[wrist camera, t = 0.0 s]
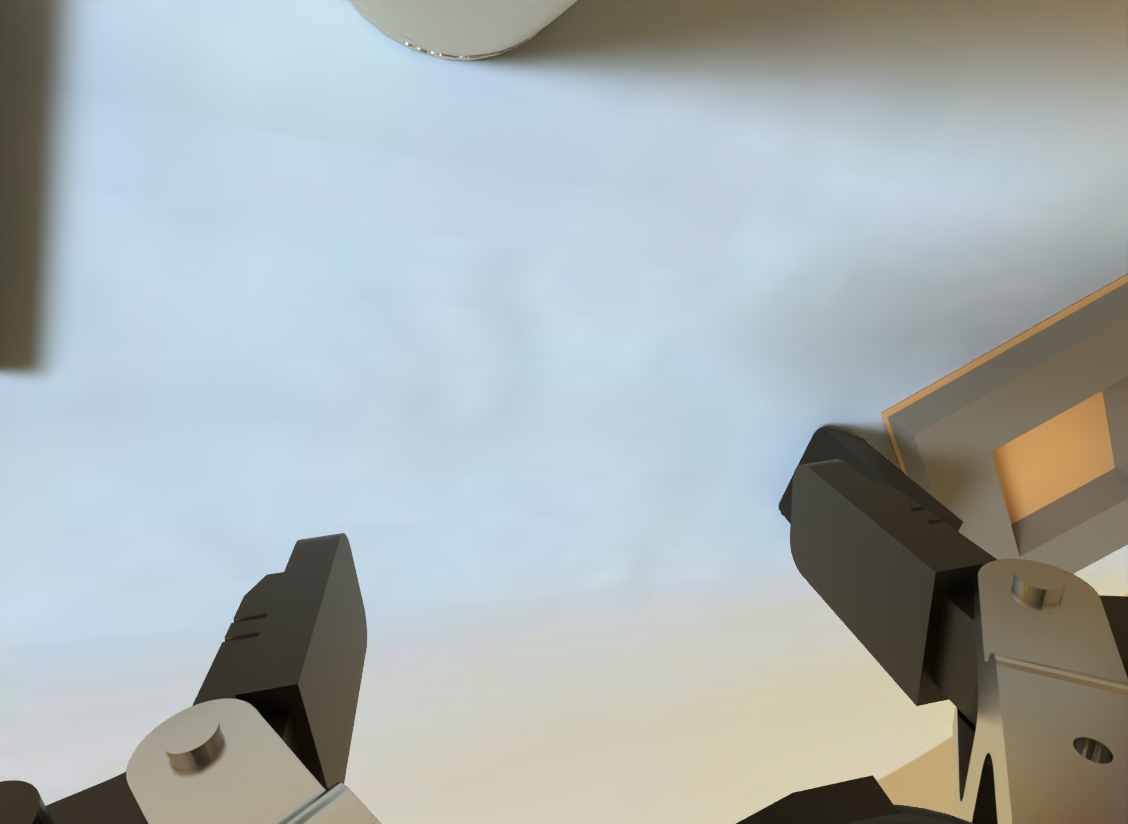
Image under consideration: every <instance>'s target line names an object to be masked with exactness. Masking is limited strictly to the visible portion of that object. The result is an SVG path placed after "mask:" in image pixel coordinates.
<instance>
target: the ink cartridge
mask: <svg viewBox="0 0 1128 824" xmlns="http://www.w3.org/2000/svg"><path fill="white" fill-rule="evenodd" d="M835 459H841V460H843V461H845V462H846V463H848V464H849V465H850V466H852V467H853V468H854V469H856V470H857V471H858V472H860V473H861V474H863V475H864V476H865V477H867V478H868V479H869V480H871V481H876V482H878V483H881V484H883V485H886V486H888V487H891V488H893V489H896V490H899V491H901V492H903V493H904V494H906V495H907V496H909V497H910V498H911V499H913V500H914V501H916V502H917V503H918V504H920V505H921V506H923V510H928V511H930V512H931V513H933V514H934V515H935V516H937V517H938V518H940V521H941V523H943V522H945V523H947V524H948V525H949V526H951V527H952V528H954V529H955V530H957V531H959V529H960V528H961V526H962V524H963V521H962V520H961V519H960V518H958V517H957V516H956V515H955V514H953V513H952V512H951V511H950V510H949V509H947V508H946V507H945V506H944V505H942V504H941V503H940V502H939V501H938V500H936V499H935V498H934V497H933V496H931V495H930V494H929V493H928V492H926V491H925V490H924V489H923V488H922V487H920V486H919V485H918V484H917V483H915V482H914V481H913V480H912V479H911V478H909V477H908V476H907V475H906V474H904V473H903V472H902V471H901V470H899V469H898V468H897V467H896V466H895V465H893V464H892V463H891V462H890V461H888V460H887V459H886V458H885V457H884V456H882V455H881V454H880V453H879V452H877V451H876V450H875V449H874V448H872V447H871V446H870V445H869V444H868V443H866V441H865V440H864V439H863V438H860V437H857V436H853V435H850V434H846V433H842V432H838V431H834V430H830V429H826V428H820V429H818V430H817V431H816V432H815V433H814V435H813V436H812V438H811V440H810V442H809V444H808V446H807V448H806V450H805V452H804V454H803V456H802V458H801V460H800V462H799V464H798V466H799V465H802V464H809V463H816V462H822V461H829V460H835ZM798 466H797V467H798ZM793 475H794V474H793ZM792 488H793V476H792V478H791V480H790V483H789V485H788V487H787V489H786V491H785V493H784V495H783V497H782V499H781V501H780V503H779V510H780V511H781V514H782V515H783V516H785V518H786V519H787V520H788V521H789V523H790V524H791V509H792Z"/></svg>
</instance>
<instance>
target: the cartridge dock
mask: <svg viewBox="0 0 1128 824" xmlns="http://www.w3.org/2000/svg"><path fill="white" fill-rule="evenodd" d="M881 414H882V417H883V420H884V422H885V425H886V428H887V431H888V434H889V436H890V439H891V442H892V445H893V448H894V451H895V453H896V456H897V459H898V462H899V465H900V468H901V470H902V472H903V473H904V474H906V475H907V476H908V477H909V478H911V479H912V480H913V481H914V482H915V483H917V484H918V485H919V486H920V487H922V488H923V489H924V490H925V491H926V492H928V493H929V494H930V495H931V496H933V497H934V498H935V499H936V500H938V501H939V502H940V503H941V504H942V505H944V506H945V507H946V508H947V509H949V510H950V511H951V512H952V513H953V514H955V515H956V516H957V517H958V518H960V519H961V520H962V521H963V524H962V526H961V528H960V529H959V531H958V532H959V533H961V534H962V535H964V536H965V537H966V538H968V539H969V540H971V541H972V542H973V543H975V544H976V545H978V546H979V547H981V548H982V549H983V550H985V551H986V552H988V553H989V554H990V555H992V556H993V557H995V558H996V559H997V560H1001V559H1024V560H1031V561H1036V562H1041V563H1045V564H1048V565H1052V566H1055V567H1058V568H1060V569H1063V570H1065V571H1067V572H1070V573H1072V574H1073V573H1075V572H1077V571H1079V570H1081V569H1083V568H1085V567H1086V566H1088V565H1090V564H1092V563H1094V562H1096V561H1098V560H1099V559H1101V558H1103V557H1105V556H1107V555H1109V554H1111V553H1113V552H1114V551H1116V550H1118V549H1120V548H1122V547H1124V546H1126V545H1127V544H1128V274H1127V275H1125V276H1123V277H1122V278H1120V279H1118V280H1116V281H1115V282H1113V283H1111V284H1109V285H1107V286H1106V287H1104V288H1102V289H1100V290H1099V291H1097V292H1095V293H1093V294H1091V295H1090V296H1088V297H1086V298H1084V299H1083V300H1081V301H1079V302H1077V303H1076V304H1074V305H1072V306H1070V307H1068V308H1067V309H1065V310H1063V311H1061V312H1060V313H1058V314H1056V315H1054V316H1053V317H1051V318H1049V319H1047V320H1045V321H1044V322H1042V323H1040V324H1038V325H1037V326H1035V327H1033V328H1031V329H1029V330H1028V331H1026V332H1024V333H1022V334H1021V335H1019V336H1017V337H1015V338H1014V339H1012V340H1010V341H1008V342H1006V343H1005V344H1003V345H1001V346H999V347H998V348H996V349H994V350H992V351H990V352H989V353H987V354H985V355H983V356H982V357H980V358H978V359H976V360H975V361H973V362H971V363H969V364H967V365H966V366H964V367H962V368H960V369H959V370H957V371H955V372H953V373H952V374H950V375H948V376H946V377H944V378H943V379H941V380H939V381H937V382H936V383H934V384H932V385H930V386H928V387H927V388H925V389H923V390H921V391H920V392H918V393H916V394H914V395H913V396H911V397H909V398H907V399H905V400H904V401H902V402H900V403H898V404H897V405H895V406H893V407H891V408H889V409H888V410H886V411H884V412H882V413H881Z"/></svg>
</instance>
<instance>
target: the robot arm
mask: <svg viewBox="0 0 1128 824" xmlns="http://www.w3.org/2000/svg"><path fill="white" fill-rule="evenodd" d="M349 1H350V2H351V3H352V4H353V5H354V7H355V8H356V9H357V10H358V11H359V13H360V14H361V15H362V16H363V17H364V18H365V19H367V20H368V21H369V22H370V23H372V24H373V25H374V26H375V27H376V28H378V29H379V30H380V31H381V32H382V33H384V34H385V35H386V36H387V37H389V38H391V39H393V40H395V41H396V42H398V43H400V44H402V45H404V46H406V47H408V48H409V49H411V50H413V51H416V52H419V53H423V54H426V55H430V56H433V57H437V58H440V59H448V60H467V61H471V60H476V59H482V58H487V57H492V56H497V55H500V54H502V53H504V52H506V51H508V50H511V49H514V48H516V47H518V46H520V45H522V44H523V43H525V42H527V41H529V40H530V39H532V38H534V37H535V36H536V35H537V33H538V32H539V31H540V30H541V29H543V28H544V27H545V26H547V25H548V24H550V23H551V22H552V21H553V20H555V19H556V18H557V17H558V16H559V15H561V14H562V13H563V12H564V11H566V10H567V9H568V8H569V7H570V6H572V5H573V4H574V3H575V2H576V1H578V0H349ZM790 546H791V552H792V556H793V559H794V562H795V564H796V566H797V568H798V570H799V572H800V573H801V574H802V576H803V577H804V578H805V579H806V580H807V581H808V583H809V584H810V585H811V586H812V587H813V588H814V589H815V591H816V592H817V593H818V594H819V595H820V596H821V597H822V599H823V600H824V601H825V602H826V603H827V604H828V605H829V606H830V608H831V609H832V610H833V611H834V612H835V613H836V614H837V616H838V617H839V618H840V619H841V620H842V621H843V622H844V624H845V625H846V626H847V627H848V628H849V629H850V630H851V632H852V633H853V634H854V635H855V636H856V637H857V638H858V640H859V641H860V642H861V643H862V644H863V645H864V646H865V648H866V649H867V650H868V651H869V652H870V653H871V654H872V656H873V657H874V658H875V659H876V660H877V661H878V662H879V664H880V665H881V666H882V667H883V668H884V669H885V670H886V672H887V673H888V674H889V675H890V676H891V677H892V678H893V680H894V681H895V682H896V683H897V684H898V685H899V686H900V688H901V689H902V690H903V691H904V692H905V693H906V694H907V696H908V697H909V698H910V699H911V700H912V701H913V702H914V703H915V705H916V706H919V705H924V704H928V703H933V702H938V701H943V700H948V699H949V700H950V701H951V702H952V703H953V704H954V705H955V706H956V708H955V714H954V720H953V770H954V816H951V815H948V814H945V813H941V812H936V811H932V810H928V809H923V808H917V807H910V806H904V805H893V804H892V802H891V801H890V799H889V798H888V797H887V795H886V794H885V792H884V791H883V789H882V788H881V787H880V785H879V784H878V782H877V781H876V779H875V778H874V777H873V775H872V776H868V777H863V778H859V779H854V780H849V781H845V782H840V783H836V784H831V785H827V786H822V787H817V788H813V789H808V790H804V791H799V792H795V793H792V794H790V795H788V796H786V797H784V798H782V799H781V800H779V801H777V802H775V803H773V804H771V805H770V806H768V807H766V808H764V809H762V810H760V811H759V812H757V813H755V814H753V815H751V816H749V817H747V818H746V819H744V820H742V821H740V822H738V823H736V824H1128V597H1124V596H1099V595H1098V593H1097V592H1096V591H1095V589H1094V588H1093V587H1091V586H1090V585H1089V584H1088V583H1087V582H1085V581H1084V580H1082V579H1081V578H1079V577H1077V576H1076V575H1074V574H1072V573H1070V572H1067V571H1065V570H1063V569H1060V568H1058V567H1055V566H1052V565H1048V564H1045V563H1041V562H1036V561H1031V560H1024V559H1001V560H997V559H996V558H995V557H993V556H992V555H990V554H989V553H988V552H986V551H985V550H983V549H982V548H981V547H979V546H978V545H976V544H975V543H973V542H972V541H971V540H969V539H968V538H966V537H965V536H964V535H962V534H961V533H959V532H958V531H957V530H955V529H954V528H952V527H951V526H949V525H948V524H947V523H945V522H943V523H941V521H940V518H938V517H937V516H935V515H934V514H933V513H931V512H930V511H928V510H923V506H921V505H920V504H918V503H917V502H916V501H914V500H913V499H911V498H910V497H909V496H907V495H906V494H904V493H903V492H901V491H899V490H896V489H893V488H891V487H888V486H886V485H883V484H881V483H878V482H876V481H871V480H869V479H868V478H867V477H865V476H864V475H863V474H861V473H860V472H858V471H857V470H856V469H854V468H853V467H852V466H850V465H849V464H848V463H846V462H845V461H843V460H841V459H835V460H829V461H822V462H816V463H809V464H802V465H799V466H798V467H797V468H796V469H795V472H794V475H793V488H792V509H791V530H790ZM366 647H367V625H366V616H365V610H364V605H363V601H362V596H361V592H360V587H359V583H358V579H357V574H356V570H355V565H354V561H353V557H352V552H351V548H350V544H349V541H348V538H347V536H346V535H345V534H344V533H341V534H335V535H328V536H321V537H315V538H308V539H302V540H298V541H297V542H296V544H295V547H294V549H293V552H292V554H291V557H290V559H289V562H288V564H287V567H286V569H285V572H282V573H275V574H269V575H266V576H265V577H264V578H263V579H262V580H261V581H260V582H259V583H258V584H257V585H255V586H254V587H253V588H252V589H251V590H250V591H249V592H248V593H247V594H246V595H245V596H244V598H243V600H242V602H241V604H240V606H239V608H238V610H237V613H236V615H235V617H234V623H231V625H230V627H229V629H228V632H227V634H226V636H225V642H222V644H221V646H220V649H219V651H218V653H217V655H216V657H215V659H214V661H213V663H212V665H211V668H210V670H209V672H208V674H207V676H206V678H205V680H204V682H203V684H202V687H201V689H200V691H199V693H198V695H197V697H196V699H195V701H194V704H193V706H192V707H190V708H187V709H185V710H183V711H181V712H179V713H177V714H175V715H174V716H172V717H170V718H169V719H167V720H166V721H164V722H163V723H162V724H160V725H159V726H158V727H156V728H155V729H154V730H153V731H152V732H151V733H150V734H148V735H147V736H146V737H145V739H144V740H143V741H142V742H141V743H140V744H139V745H138V747H137V748H136V750H135V751H134V753H133V754H132V756H131V758H130V760H129V763H128V766H127V770H126V772H125V773H123V774H121V775H118V776H116V777H114V778H112V779H110V780H107V781H105V782H103V783H100V784H98V785H95V786H93V787H90V788H88V789H86V790H83V791H81V792H78V793H76V794H74V795H71V796H69V797H66V798H64V799H61V800H59V801H57V802H54V803H52V804H49V805H47V806H45V805H44V803H43V801H42V799H41V797H40V795H39V792H38V790H37V789H36V788H35V787H34V786H33V785H31V784H29V783H27V782H23V781H3V782H0V824H381V823H380V822H379V821H378V819H377V818H376V817H375V816H374V815H373V814H372V813H371V812H370V811H369V810H368V808H367V807H366V806H365V805H364V804H363V803H362V802H361V801H360V800H359V798H358V797H357V796H356V795H355V794H354V793H353V792H352V791H351V790H350V789H349V788H348V787H347V786H345V785H344V780H345V774H346V768H347V762H348V756H349V750H350V744H351V738H352V732H353V726H354V720H355V714H356V708H357V702H358V696H359V690H360V684H361V678H362V672H363V666H364V660H365V654H366Z"/></svg>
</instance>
